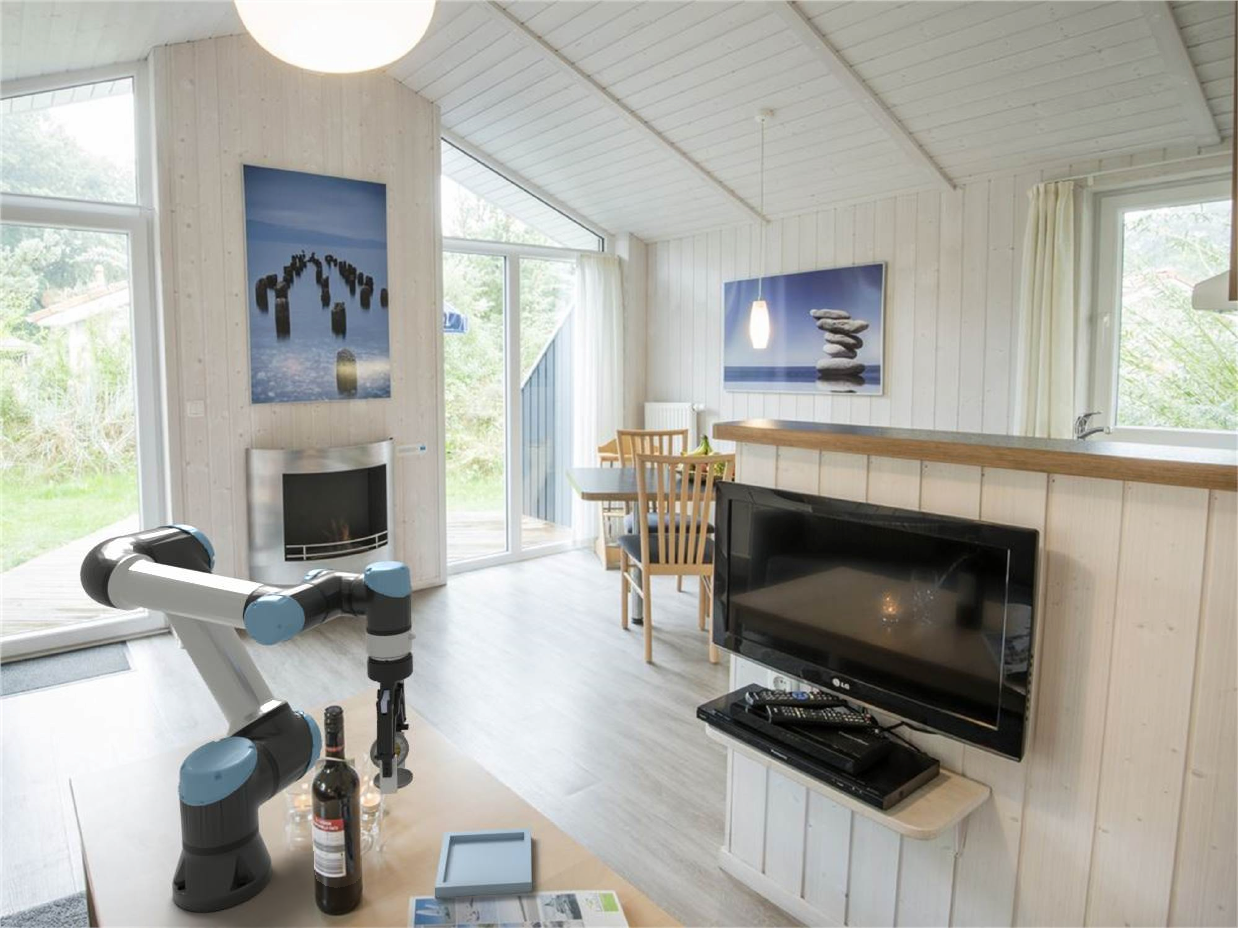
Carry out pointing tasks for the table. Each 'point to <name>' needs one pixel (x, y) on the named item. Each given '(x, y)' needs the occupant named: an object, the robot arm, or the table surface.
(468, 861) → the tray
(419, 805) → the table surface
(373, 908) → the table surface
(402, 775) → the pocket watch
